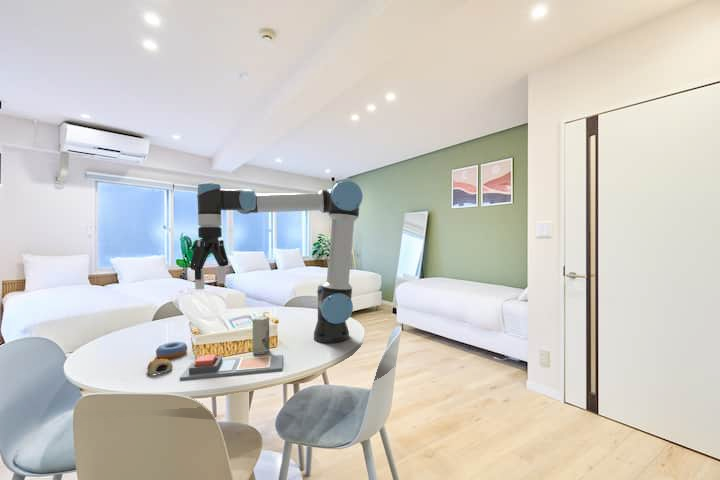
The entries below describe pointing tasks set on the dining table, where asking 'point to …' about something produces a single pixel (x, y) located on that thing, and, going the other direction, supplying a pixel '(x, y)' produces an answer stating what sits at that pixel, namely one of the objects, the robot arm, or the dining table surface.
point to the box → (260, 335)
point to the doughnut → (171, 350)
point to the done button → (206, 360)
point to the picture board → (234, 367)
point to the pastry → (159, 366)
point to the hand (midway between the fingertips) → (211, 286)
